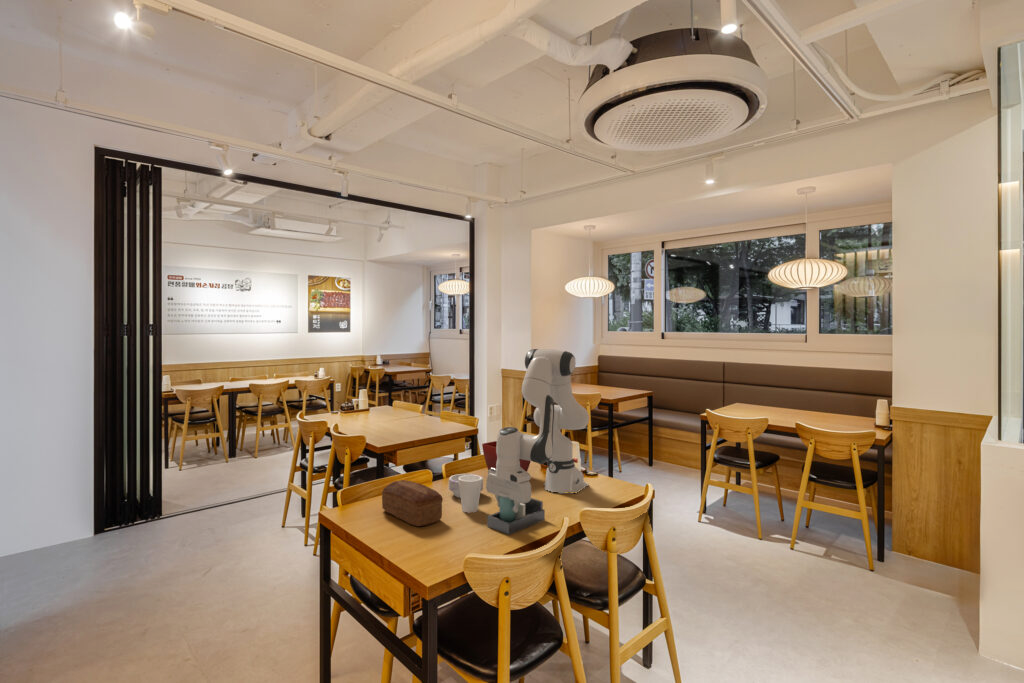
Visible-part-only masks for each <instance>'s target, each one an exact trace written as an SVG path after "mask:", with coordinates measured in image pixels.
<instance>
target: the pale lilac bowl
mask: <svg viewBox="0 0 1024 683" xmlns="http://www.w3.org/2000/svg"><path fill="white" fill-rule="evenodd" d="M464 475H477V476H480V477H481V478H482V484H481V489H480V492H482V491H483V490H484V477H483V476H482V475H478V474H474V473H458V474H454V475H451V476H450V477H449V478H448V490H449V491H451V492H452V494H453V495H454V496H455V497H456V498H459V499H461V496H460V488H459V477H460V476H464Z"/></svg>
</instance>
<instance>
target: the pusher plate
mask: <svg viewBox="0 0 1024 683" xmlns="http://www.w3.org/2000/svg"><path fill="white" fill-rule="evenodd" d="M524 516H525V504H522V503H520V505H519V507H518V512H516V519H519V518H521V517H524ZM516 519H515V520H516Z"/></svg>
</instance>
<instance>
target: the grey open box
mask: <svg viewBox="0 0 1024 683" xmlns="http://www.w3.org/2000/svg"><path fill="white" fill-rule="evenodd" d="M522 504H523V503H522ZM543 506H544V502H543V501H542V500H539V499H537V498H536V499H535V498H533V497H531V500H530V501H529V502H528V503H525V516H524V517H521V518H519V519H516V520H514V521H511V522H506V521H504V520H501V519H499V511H497V512H494V513H492V514H489V515H487V516H486V517H487V521H486V523H487V524H486V526H487V527H488V528H490V529H493V530H495V531H498V532H500V533H503V534H504V535H507V536H510V535H513V534H514V533H518V532H520V531H521V530H524V529H526V528H529V527H532V526H534V525H536V524H539V523H542V522H544V521H545V520H546V518H545V516H546V515H545V513H546V512H545V509H543ZM543 520H544V521H543Z"/></svg>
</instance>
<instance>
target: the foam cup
mask: <svg viewBox="0 0 1024 683" xmlns="http://www.w3.org/2000/svg"><path fill="white" fill-rule="evenodd" d="M477 475H478V474H475V475H464V476H460V477H459V488H460V496H461V498H460V502H461V511H462V512H463V513H466V512H467V514H470V513H471V512H473V513H476V512H478V510H479V502H480V495H481V491H480V489H481V484H482V478H481V477H482V476H481V475H479V476H477ZM480 476H481V477H480ZM471 514H472V513H471Z"/></svg>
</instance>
